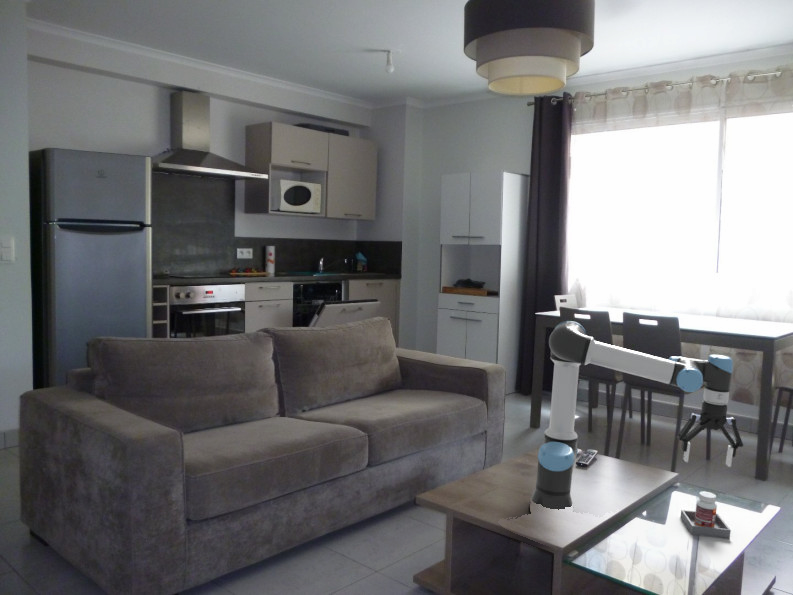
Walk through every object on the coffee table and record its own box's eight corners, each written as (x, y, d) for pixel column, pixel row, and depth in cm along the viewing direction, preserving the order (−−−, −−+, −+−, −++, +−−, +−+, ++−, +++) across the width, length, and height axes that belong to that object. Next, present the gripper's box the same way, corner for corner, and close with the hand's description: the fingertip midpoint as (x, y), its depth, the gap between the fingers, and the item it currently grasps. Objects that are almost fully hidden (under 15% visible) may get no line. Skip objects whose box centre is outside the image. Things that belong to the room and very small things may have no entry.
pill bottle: (715, 532, 217) (719, 499, 216) (695, 528, 219) (699, 496, 218) (712, 524, 223) (716, 492, 222) (692, 520, 225) (696, 489, 223)
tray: (691, 534, 216) (692, 526, 216) (680, 517, 228) (681, 509, 227) (729, 538, 215) (730, 530, 214) (716, 521, 226) (717, 513, 226)
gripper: (679, 401, 215) (671, 462, 218) (759, 409, 212) (750, 471, 214) (672, 394, 222) (665, 454, 225) (750, 402, 219) (741, 463, 222)
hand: (706, 463), depth 220 cm, fingers open, 13 cm apart
